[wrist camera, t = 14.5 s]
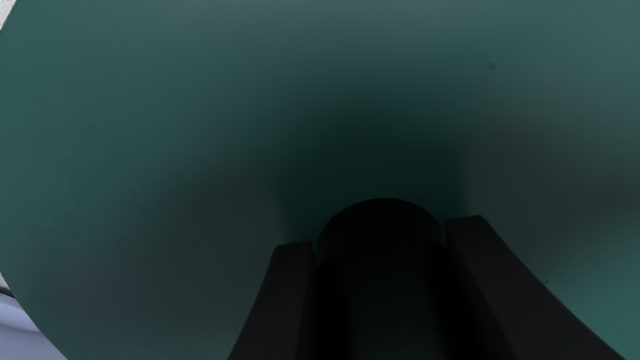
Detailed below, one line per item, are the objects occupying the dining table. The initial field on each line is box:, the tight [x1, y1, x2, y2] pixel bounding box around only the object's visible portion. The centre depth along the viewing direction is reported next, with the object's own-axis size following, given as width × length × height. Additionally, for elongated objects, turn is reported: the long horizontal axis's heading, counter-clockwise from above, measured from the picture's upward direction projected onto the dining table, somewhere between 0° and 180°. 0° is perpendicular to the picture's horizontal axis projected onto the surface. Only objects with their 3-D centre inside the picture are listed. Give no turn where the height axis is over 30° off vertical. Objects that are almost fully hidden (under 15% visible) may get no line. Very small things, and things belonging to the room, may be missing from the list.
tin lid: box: [0, 0, 640, 360], centre depth 10 cm, size 15×15×5 cm
